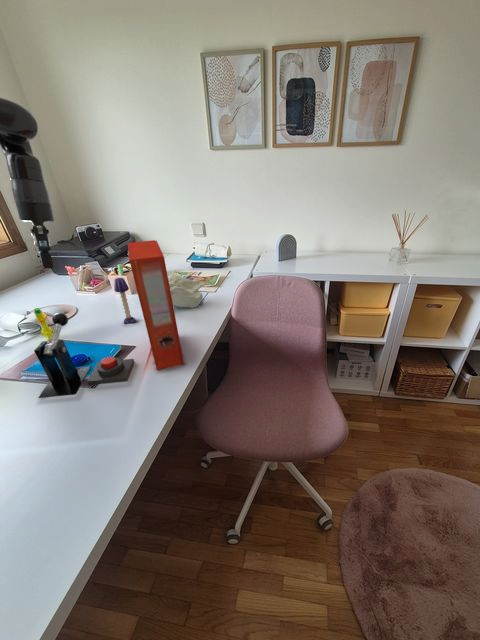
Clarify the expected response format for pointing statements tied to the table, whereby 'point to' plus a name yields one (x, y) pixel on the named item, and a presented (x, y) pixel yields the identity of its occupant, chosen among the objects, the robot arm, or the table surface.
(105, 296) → the table surface
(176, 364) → the file binder
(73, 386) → the black stand
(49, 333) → the toy figure
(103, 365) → the disc
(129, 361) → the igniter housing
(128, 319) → the toy lamp
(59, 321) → the lever
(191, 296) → the wavy plaster lump
